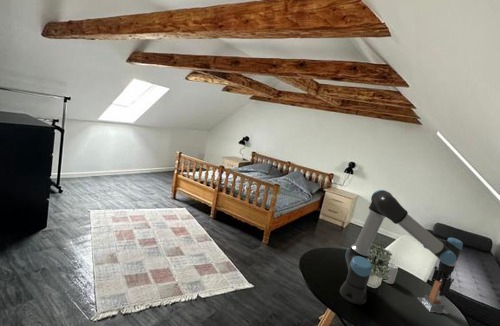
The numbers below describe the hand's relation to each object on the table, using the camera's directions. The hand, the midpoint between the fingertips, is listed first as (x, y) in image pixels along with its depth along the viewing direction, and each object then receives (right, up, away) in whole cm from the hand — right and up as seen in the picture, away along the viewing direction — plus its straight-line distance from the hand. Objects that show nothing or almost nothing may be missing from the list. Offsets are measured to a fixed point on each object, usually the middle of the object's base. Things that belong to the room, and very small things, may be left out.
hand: (435, 296), depth 172 cm
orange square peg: (-1, -4, +1) cm, 4 cm away
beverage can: (-20, +1, +21) cm, 28 cm away
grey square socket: (-1, -6, +1) cm, 7 cm away
